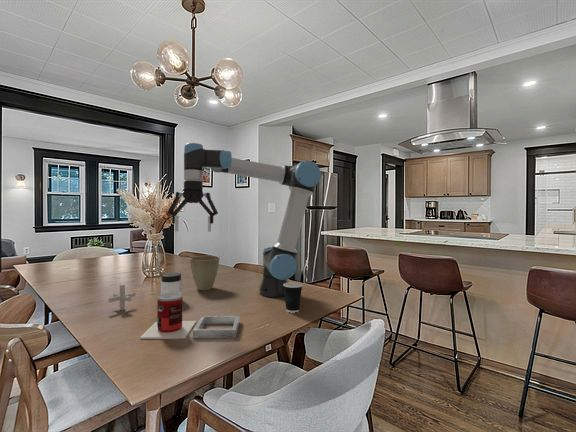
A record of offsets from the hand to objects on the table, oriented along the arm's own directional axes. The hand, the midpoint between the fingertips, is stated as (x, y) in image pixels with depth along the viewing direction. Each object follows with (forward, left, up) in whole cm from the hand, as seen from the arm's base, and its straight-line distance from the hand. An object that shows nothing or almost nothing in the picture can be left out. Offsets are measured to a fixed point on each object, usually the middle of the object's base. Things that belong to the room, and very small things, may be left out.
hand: (193, 231), depth 129 cm
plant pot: (+1, -29, -32) cm, 43 cm away
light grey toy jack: (+27, +4, -32) cm, 42 cm away
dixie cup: (-42, +7, -32) cm, 53 cm away
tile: (+1, +26, -32) cm, 41 cm away
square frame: (-15, +26, -32) cm, 44 cm away
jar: (+11, -7, -32) cm, 34 cm away
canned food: (+1, +26, -31) cm, 41 cm away
